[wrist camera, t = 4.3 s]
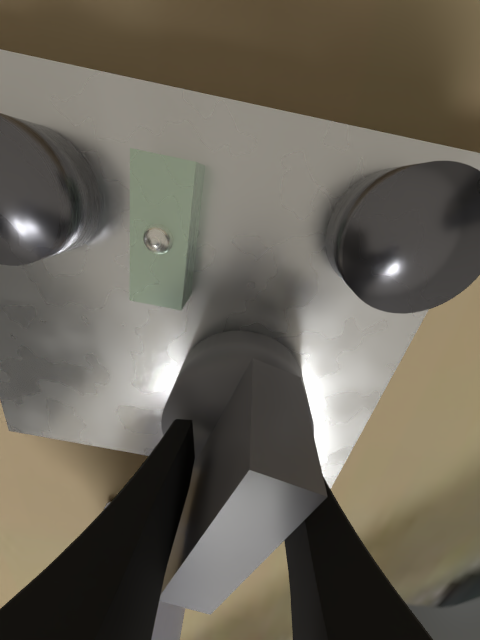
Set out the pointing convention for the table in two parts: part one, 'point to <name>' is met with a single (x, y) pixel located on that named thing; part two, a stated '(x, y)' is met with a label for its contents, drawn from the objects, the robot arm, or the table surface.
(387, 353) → the plate
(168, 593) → the knob
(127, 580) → the robot arm
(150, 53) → the table surface
